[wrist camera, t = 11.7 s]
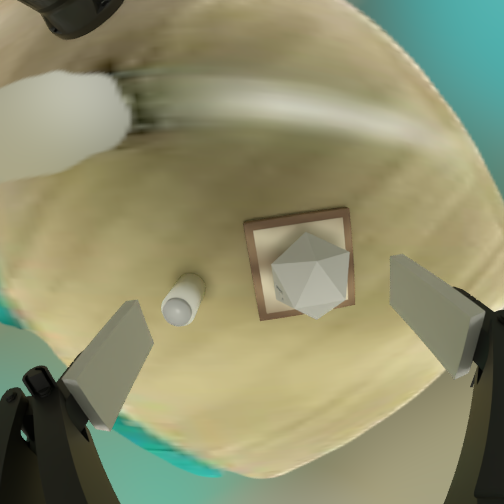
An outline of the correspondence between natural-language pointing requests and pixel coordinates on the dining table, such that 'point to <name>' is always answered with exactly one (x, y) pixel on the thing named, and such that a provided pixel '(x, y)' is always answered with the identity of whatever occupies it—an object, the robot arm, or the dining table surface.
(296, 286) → the die
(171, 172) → the dining table surface
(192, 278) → the shaker
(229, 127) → the dining table surface
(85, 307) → the dining table surface
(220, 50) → the dining table surface
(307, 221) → the board
